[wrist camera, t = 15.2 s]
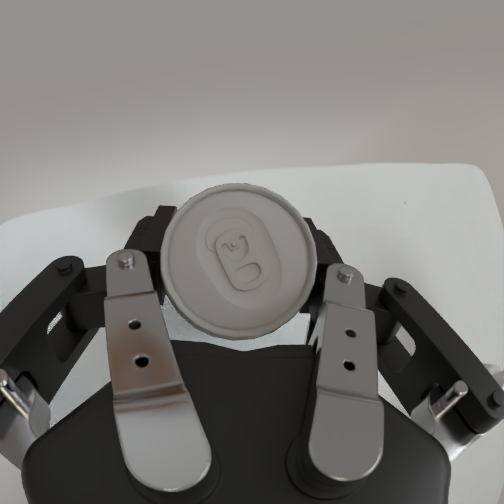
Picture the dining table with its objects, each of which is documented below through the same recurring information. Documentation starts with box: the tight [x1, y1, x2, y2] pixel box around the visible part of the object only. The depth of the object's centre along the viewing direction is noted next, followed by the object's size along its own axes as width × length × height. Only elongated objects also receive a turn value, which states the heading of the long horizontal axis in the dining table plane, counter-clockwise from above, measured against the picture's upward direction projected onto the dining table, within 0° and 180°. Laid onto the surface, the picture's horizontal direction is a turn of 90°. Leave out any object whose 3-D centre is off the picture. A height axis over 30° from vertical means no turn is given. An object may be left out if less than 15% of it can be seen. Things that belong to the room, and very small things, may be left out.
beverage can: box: [160, 183, 317, 341], centre depth 14 cm, size 5×5×12 cm
